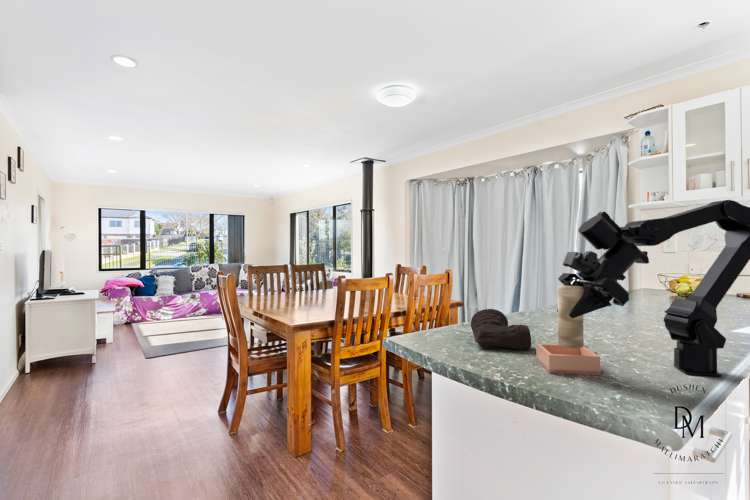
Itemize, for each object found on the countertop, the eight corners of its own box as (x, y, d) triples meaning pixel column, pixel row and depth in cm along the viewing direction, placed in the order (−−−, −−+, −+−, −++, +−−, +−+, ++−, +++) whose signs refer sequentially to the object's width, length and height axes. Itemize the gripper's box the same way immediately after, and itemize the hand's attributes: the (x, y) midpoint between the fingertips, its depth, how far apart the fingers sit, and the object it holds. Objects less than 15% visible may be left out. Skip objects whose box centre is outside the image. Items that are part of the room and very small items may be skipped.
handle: (567, 344, 109) (586, 344, 108) (567, 347, 109) (586, 347, 108) (577, 351, 102) (597, 351, 101) (577, 354, 102) (597, 355, 101)
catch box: (581, 361, 94) (581, 344, 94) (600, 375, 84) (600, 356, 84) (536, 359, 96) (536, 343, 96) (549, 373, 85) (549, 355, 85)
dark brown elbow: (531, 325, 102) (520, 307, 116) (473, 327, 104) (469, 309, 119) (533, 359, 103) (522, 337, 118) (475, 360, 106) (471, 339, 121)
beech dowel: (585, 344, 86) (584, 286, 86) (581, 349, 82) (580, 288, 82) (561, 341, 89) (560, 285, 89) (556, 346, 85) (555, 287, 85)
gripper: (565, 240, 95) (521, 285, 95) (613, 237, 76) (558, 294, 76) (598, 271, 95) (554, 317, 95) (653, 276, 76) (599, 333, 76)
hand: (564, 314), depth 85 cm, fingers closed on beech dowel, 5 cm apart
